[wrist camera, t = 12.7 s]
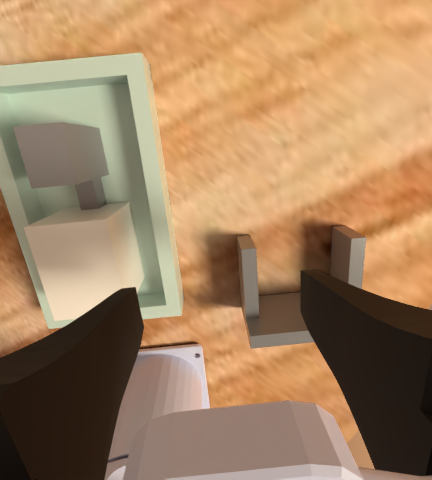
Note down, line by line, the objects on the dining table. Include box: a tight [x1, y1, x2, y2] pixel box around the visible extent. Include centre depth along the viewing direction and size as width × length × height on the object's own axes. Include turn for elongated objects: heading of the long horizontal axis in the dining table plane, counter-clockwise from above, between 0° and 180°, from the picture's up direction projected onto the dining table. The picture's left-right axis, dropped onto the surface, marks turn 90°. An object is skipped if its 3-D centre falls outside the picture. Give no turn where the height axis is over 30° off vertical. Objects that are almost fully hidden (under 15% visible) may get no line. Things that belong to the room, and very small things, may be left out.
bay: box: [237, 225, 366, 348], centre depth 20 cm, size 6×8×5 cm
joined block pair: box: [13, 122, 144, 321], centre depth 18 cm, size 11×4×5 cm, turn 5°
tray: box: [0, 53, 184, 329], centre depth 19 cm, size 17×10×2 cm, turn 5°
